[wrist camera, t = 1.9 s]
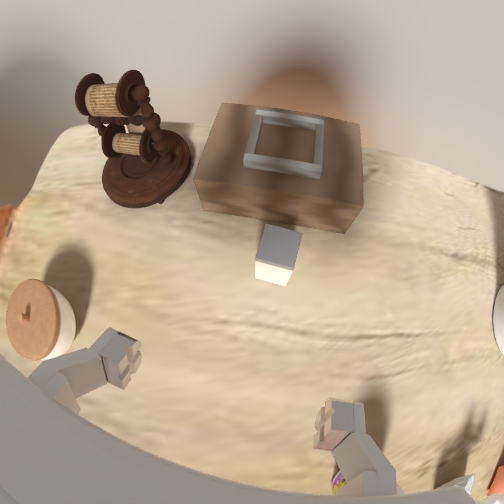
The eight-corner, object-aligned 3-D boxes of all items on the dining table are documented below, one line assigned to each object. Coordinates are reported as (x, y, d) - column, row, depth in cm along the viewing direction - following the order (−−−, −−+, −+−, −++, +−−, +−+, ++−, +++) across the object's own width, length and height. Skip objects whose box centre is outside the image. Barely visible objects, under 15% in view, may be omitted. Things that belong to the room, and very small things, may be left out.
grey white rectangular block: (292, 257, 37) (302, 233, 30) (285, 286, 36) (293, 268, 28) (263, 249, 37) (265, 223, 30) (255, 277, 36) (255, 257, 29)
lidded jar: (74, 279, 36) (36, 259, 27) (98, 344, 33) (58, 339, 24) (31, 310, 34) (-8, 297, 25) (51, 372, 31) (10, 371, 22)
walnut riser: (345, 157, 43) (362, 117, 34) (344, 233, 38) (367, 200, 29) (226, 138, 44) (221, 95, 35) (203, 210, 39) (191, 171, 31)
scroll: (206, 144, 44) (185, 41, 25) (170, 222, 39) (115, 123, 20) (133, 135, 45) (94, 49, 26) (94, 203, 40) (27, 123, 22)
